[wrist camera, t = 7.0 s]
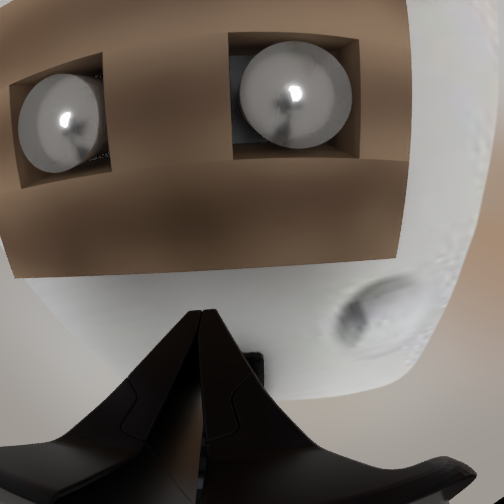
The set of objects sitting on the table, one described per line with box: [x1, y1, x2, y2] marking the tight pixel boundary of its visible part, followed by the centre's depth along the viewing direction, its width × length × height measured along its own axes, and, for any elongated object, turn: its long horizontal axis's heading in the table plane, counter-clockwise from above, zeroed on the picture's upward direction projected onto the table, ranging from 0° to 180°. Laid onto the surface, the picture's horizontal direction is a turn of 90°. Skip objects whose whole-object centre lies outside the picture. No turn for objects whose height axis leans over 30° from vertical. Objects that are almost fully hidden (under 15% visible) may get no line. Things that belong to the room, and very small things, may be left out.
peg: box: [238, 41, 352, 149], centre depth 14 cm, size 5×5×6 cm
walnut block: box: [0, 0, 412, 278], centre depth 14 cm, size 16×22×6 cm
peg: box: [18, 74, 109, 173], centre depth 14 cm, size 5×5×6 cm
